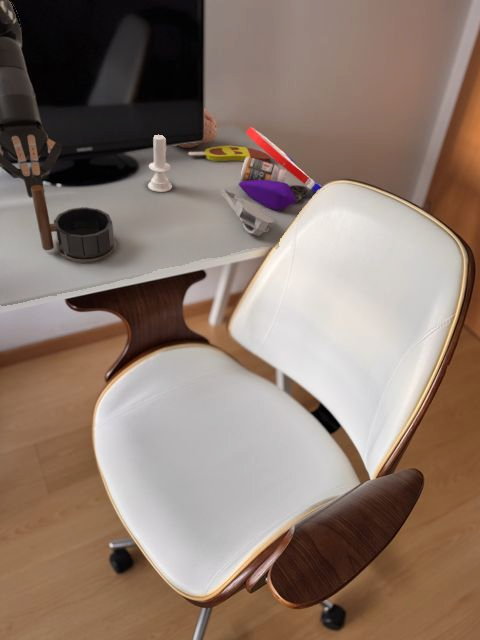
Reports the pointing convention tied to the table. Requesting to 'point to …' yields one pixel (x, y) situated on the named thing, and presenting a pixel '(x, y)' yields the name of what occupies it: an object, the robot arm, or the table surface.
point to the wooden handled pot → (74, 228)
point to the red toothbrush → (281, 158)
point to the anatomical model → (205, 130)
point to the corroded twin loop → (299, 191)
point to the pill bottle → (261, 171)
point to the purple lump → (269, 193)
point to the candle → (159, 166)
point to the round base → (86, 260)
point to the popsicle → (231, 154)
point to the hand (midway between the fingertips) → (37, 199)
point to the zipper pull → (249, 214)
